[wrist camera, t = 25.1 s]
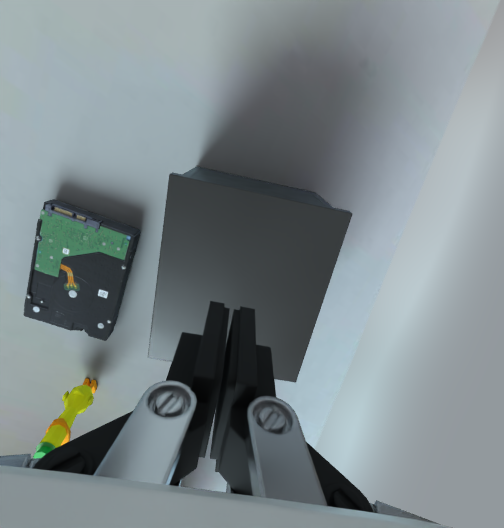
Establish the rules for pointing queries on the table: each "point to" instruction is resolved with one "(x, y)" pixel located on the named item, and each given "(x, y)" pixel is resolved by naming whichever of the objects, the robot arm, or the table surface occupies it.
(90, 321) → the disk drive
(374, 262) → the table surface
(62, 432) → the toy figure
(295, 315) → the case lid
